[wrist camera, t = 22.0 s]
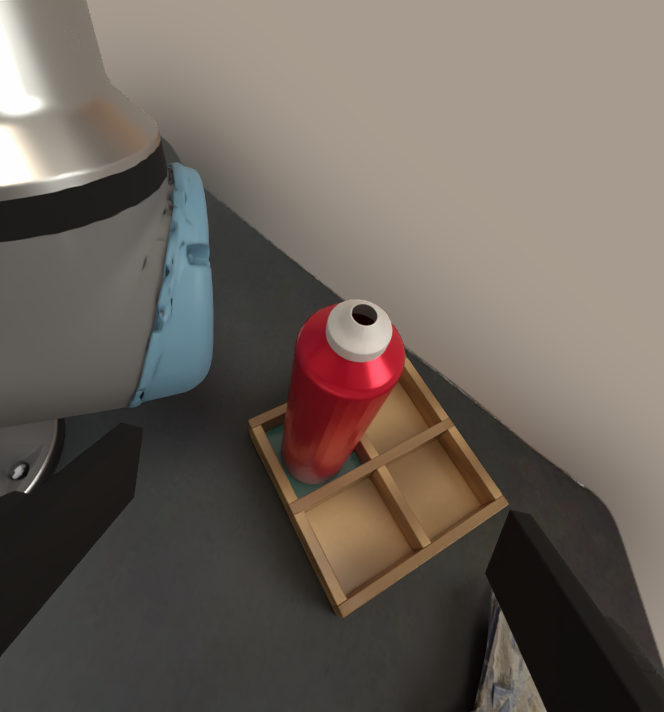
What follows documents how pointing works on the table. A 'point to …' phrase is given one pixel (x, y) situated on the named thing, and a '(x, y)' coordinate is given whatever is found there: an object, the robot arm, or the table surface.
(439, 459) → the wooden divided tray
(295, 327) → the table surface
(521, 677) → the crumpled cloth bundle
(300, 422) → the bottle
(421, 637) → the table surface
